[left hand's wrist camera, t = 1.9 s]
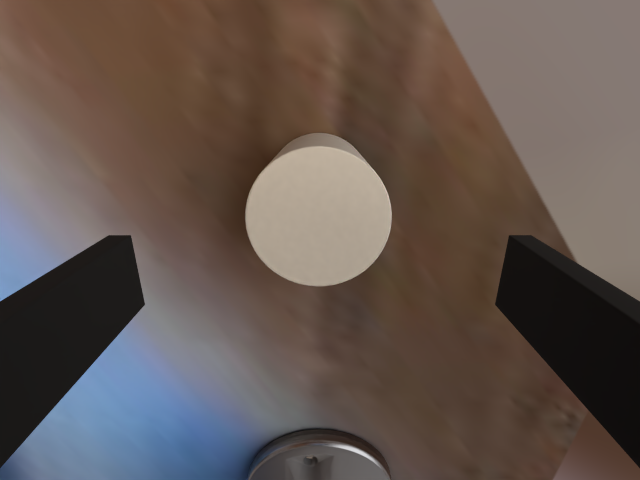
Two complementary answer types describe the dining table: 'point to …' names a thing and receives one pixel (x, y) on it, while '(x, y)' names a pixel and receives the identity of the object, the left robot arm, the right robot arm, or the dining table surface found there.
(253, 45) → the dining table surface
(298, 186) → the canister
